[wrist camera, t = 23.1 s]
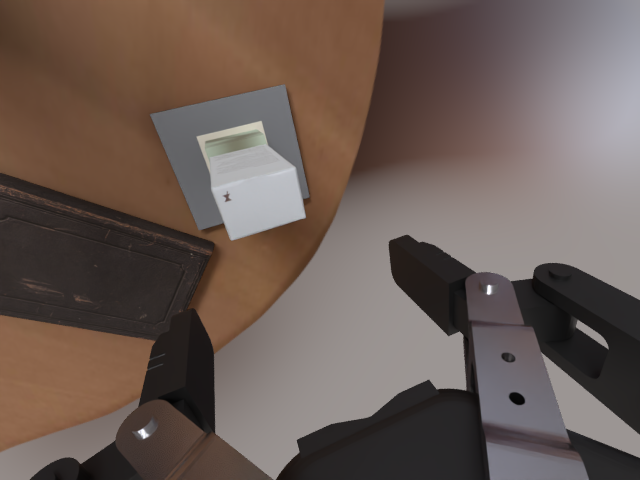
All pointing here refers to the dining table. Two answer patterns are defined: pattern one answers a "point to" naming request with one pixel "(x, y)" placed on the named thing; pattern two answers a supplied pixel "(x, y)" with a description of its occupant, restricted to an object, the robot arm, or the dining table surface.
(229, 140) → the green block
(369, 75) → the dining table surface
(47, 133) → the dining table surface
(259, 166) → the skincare box
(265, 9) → the dining table surface
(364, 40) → the dining table surface
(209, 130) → the base plate
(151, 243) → the hardcover book
